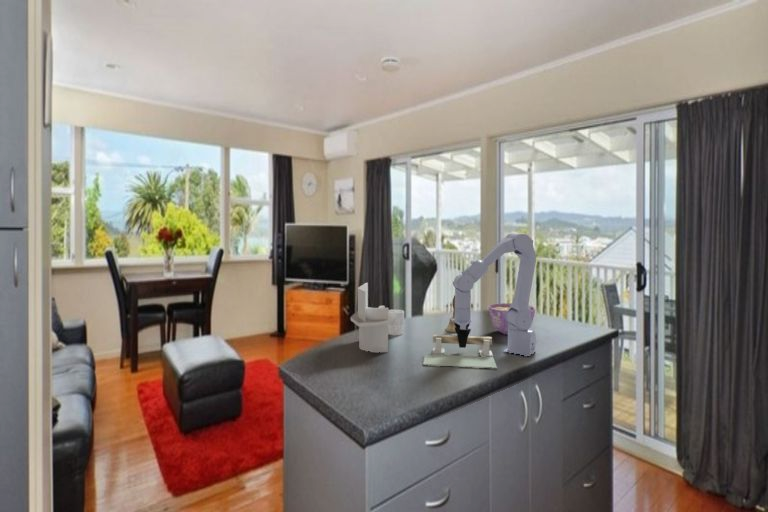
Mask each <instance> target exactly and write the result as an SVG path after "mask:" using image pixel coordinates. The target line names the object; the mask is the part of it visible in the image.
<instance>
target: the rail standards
mask: <svg viewBox="0 0 768 512" xmlns="http://www.w3.org/2000/svg"><path fill="white" fill-rule="evenodd" d="M442 346H443V343H441V338H436V343H435V347H433V348H432V353H431V355H446V353H445V352H446V349H445V348H443V347H442ZM481 347H482V349H481V350H480V349H479V350H478V354H479V353H480V354H479V357H480V356H490V357H493V358H494V354H493V352H492V350H490V347H491V345H490V340H484V345H482V346H481Z"/></svg>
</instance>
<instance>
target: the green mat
mask: <svg viewBox="0 0 768 512" xmlns="http://www.w3.org/2000/svg"><path fill="white" fill-rule="evenodd" d="M423 365H428V366H427V367H440V366H462V367H463V366H465V367H492V368H497V369H498V367H497V364H496V361H495V358H494V356H493V357H480V356H471V355H451V354H450V355H449V354H447V355H446V354H445V355H432V353H431V354H429V353H428V354H427V353H425V354H424V358H423V362H422V366H423ZM430 365H431V366H430Z"/></svg>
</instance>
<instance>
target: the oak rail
mask: <svg viewBox="0 0 768 512" xmlns="http://www.w3.org/2000/svg"><path fill="white" fill-rule="evenodd" d="M436 338H441V343H442V344H458V345H459V342H458V336H457V334H455V335H453V334H452V335H449V334H433V335H432V341H433V342H432V343H434V344H436ZM484 340H490V346H493V337H492V336H478V335H477V336H474V335H473V336H472V335H468V338H467V343H466V345H477V346H478V345H480V346H483V345H484Z"/></svg>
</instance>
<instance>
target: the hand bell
mask: <svg viewBox="0 0 768 512" xmlns="http://www.w3.org/2000/svg"><path fill="white" fill-rule="evenodd" d="M452 309H453V310H452V317H450V318H449V320H448V325H447V327H446V328H445V329H444V330H445V332H449V333H456V331H455V327H456V326H455V324H454V323H455V322H452V321H451V319H455V294H454V295H453V298H452Z"/></svg>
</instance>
